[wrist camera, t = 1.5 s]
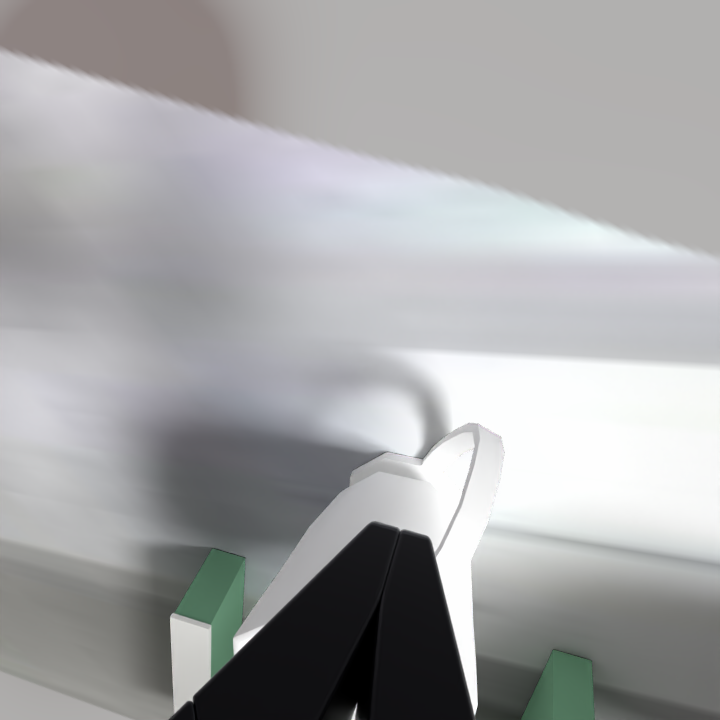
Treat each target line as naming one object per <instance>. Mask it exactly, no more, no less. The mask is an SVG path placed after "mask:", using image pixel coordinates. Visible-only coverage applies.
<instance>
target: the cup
mask: <svg viewBox="0 0 720 720" xmlns="http://www.w3.org/2000/svg"><path fill="white" fill-rule="evenodd" d="M473 449H474V451H473V455H472V460H471V464H470V468H469V472H468V476H467V479H466V482H465V485H464V488H463V492H461V491H460V490H459V489H458V488H457V487H456V486H455V484H454V483H453V482H452V481H451V480H450V479H449V478H448V477H447V475H446V474H445V473H444V471H445V470H446V468H447V467H448V466H449V465H450V464H451V463H452V462H453V461H455V460H456V459H457V458H459V457H460V456H461V455H463V454H464V453H466V452H468V451H471V450H473ZM504 453H505V452H504V448H503V443H502V438H501V436H499V435H497V434H495V433H493V432H492V431H490V430H488V429H486V428H485V427H483V426H481V425H479V424H475V423H468V424H466V425H464V426H462V427H460V428H458V429H456V430H454V431H453V432H451V433H449V434H447V435H446V436H445V437H444V438H443V439H441V440H440V441H439V442H438V443H437V444H436V445H435V446H433V447H432V449H431V450H430V451H429V453H428V454H427V455H426V456H425V458H424V459H419V458H414V457H409V456H404V455H400V454H395V453H390V452H386V453H384V454H382V455H381V456H379V457H377V458H375V459H373V460H371V461H370V462H368V463H366V464H364V465H362V466H360V467H358V468H357V469H355V470H353V471H352V474H351V476H350V486H349V487H348V488H346V489H344V490H343V491H341V492H340V493H339V494H338V495H337V497H336V498H335V499H334V500H333V501H332V502H331V503H330V504H329V505H328V506H327V508H326V509H325V510H324V511H323V512H322V513H321V514H320V515H319V516H318V517H317V519H316V520H315V521H314V522H313V523H312V524H311V525H310V526H309V528H308V529H307V531H306V532H305V534H304V535H303V537H302V538H301V540H300V541H299V543H298V544H297V546H296V547H295V549H294V550H293V552H292V553H291V555H290V556H289V558H288V559H287V561H286V562H285V564H284V565H283V567H282V568H281V570H280V571H279V573H278V574H277V575H276V577H275V578H274V580H273V581H272V582H271V584H270V585H269V587H268V588H267V589H266V591H265V592H264V594H263V595H262V596H261V598H260V599H259V601H258V602H257V603H256V605H255V606H254V608H253V609H252V611H251V612H250V614H249V615H248V617H247V618H246V619H245V621H244V622H243V624H242V625H241V627H240V628H239V630H238V631H237V633H236V634H235V636H234V637H233V649H234V655H235V654H236V653H237V652H238V651H239V650H240V649H241V648H242V647H243V646H244V645H245V644H246V643H247V642H248V641H249V640H250V639H251V638H252V637H253V636H254V635H255V634H256V633H257V632H258V631H259V630H261V629H262V628H263V627H264V626H265V625H266V624H267V623H268V622H269V621H270V620H271V619H272V618H273V617H274V616H275V615H276V614H277V613H278V612H279V611H280V610H281V609H282V608H283V607H284V606H285V605H286V604H287V603H288V602H289V601H290V600H291V599H292V598H293V597H294V596H295V595H296V594H297V593H298V592H299V591H300V590H301V589H302V588H303V587H304V586H305V585H306V584H307V583H308V582H309V581H310V580H311V579H312V578H313V577H314V576H315V575H316V574H317V573H318V572H320V571H321V570H322V569H323V568H324V567H325V566H326V565H327V564H328V563H329V562H330V561H331V560H332V559H333V558H334V557H335V556H336V555H337V554H338V553H339V552H340V551H341V550H342V549H343V548H344V547H345V546H346V545H347V544H348V543H349V542H350V541H351V540H352V539H353V538H354V537H355V536H356V535H357V534H358V533H359V532H360V531H361V530H362V529H363V528H364V527H365V526H366V525H367V524H369V523H370V522H372V521H377V522H381V523H384V524H388V525H391V526H395V527H398V528H399V529H400V531H401V530H403V529H406V530H409V531H413V532H416V533H420V534H423V535H427V536H428V537H429V538H430V539H431V541H432V544H433V548H434V552H435V556H436V560H437V564H438V569H439V573H440V577H441V581H442V585H443V589H444V593H445V597H446V601H447V605H448V609H449V613H450V617H451V621H452V625H453V629H454V633H455V637H456V641H457V645H458V650H459V654H460V658H461V662H462V666H463V670H464V674H465V678H466V682H467V686H468V690H469V694H470V698H471V702H472V706H473V710H474V714H475V713H476V710H477V706H478V697H477V674H476V655H475V641H474V626H473V602H472V576H471V559H472V557H473V555H474V552H475V550H476V548H477V546H478V543H479V541H480V539H481V537H482V535H483V532H484V530H485V528H486V526H487V523H488V521H489V518H490V515H491V511H492V507H493V504H494V500H495V496H496V493H497V489H498V485H499V482H500V477H501V471H502V465H503V459H504ZM356 708H357V705H356ZM356 708H355V711H354V714H353V716H352V719H351V720H355V714H356Z"/></svg>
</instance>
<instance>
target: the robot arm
mask: <svg viewBox="0 0 720 720" xmlns="http://www.w3.org/2000/svg"><path fill="white" fill-rule="evenodd" d="M356 705H357V708H356ZM355 708H356V714H355V720H476V718H475V714H474V710H473V706H472V702H471V698H470V694H469V690H468V686H467V682H466V678H465V674H464V670H463V666H462V662H461V658H460V654H459V650H458V645H457V641H456V637H455V633H454V629H453V625H452V621H451V617H450V613H449V609H448V605H447V601H446V597H445V593H444V589H443V585H442V581H441V577H440V573H439V569H438V564H437V560H436V556H435V552H434V548H433V544H432V541H431V539H430V538H429V537H428V536H427V535H423V534H420V533H416V532H413V531H409V530H406V529H403V530H401V531H400V529H399V528H398V527H395V526H391V525H388V524H384V523H381V522H377V521H372V522H370V523H369V524H367V525H366V526H365V527H364V528H363V529H362V530H361V531H360V532H359V533H358V534H357V535H356V536H355V537H354V538H353V539H352V540H351V541H350V542H349V543H348V544H347V545H346V546H345V547H344V548H343V549H342V550H341V551H340V552H339V553H338V554H337V555H336V556H335V557H334V558H333V559H332V560H331V561H330V562H329V563H328V564H327V565H326V566H325V567H324V568H323V569H322V570H321V571H320V572H318V573H317V574H316V575H315V576H314V577H313V578H312V579H311V580H310V581H309V582H308V583H307V584H306V585H305V586H304V587H303V588H302V589H301V590H300V591H299V592H298V593H297V594H296V595H295V596H294V597H293V598H292V599H291V600H290V601H289V602H288V603H287V604H286V605H285V606H284V607H283V608H282V609H281V610H280V611H279V612H278V613H277V614H276V615H275V616H274V617H273V618H272V619H271V620H270V621H269V622H268V623H267V624H266V625H265V626H264V627H263V628H262V629H261V630H259V631H258V632H257V633H256V634H255V635H254V636H253V637H252V638H251V639H250V640H249V641H248V642H247V643H246V644H245V645H244V646H243V647H242V648H241V649H240V650H239V651H238V652H237V653H236V654H235V655H234V656H233V657H232V658H231V659H230V660H229V661H228V662H227V663H226V664H225V665H224V666H223V667H222V668H221V669H220V670H219V671H218V672H217V673H216V674H215V675H214V676H213V677H212V678H211V679H210V680H209V681H208V682H207V683H206V684H205V685H204V686H203V687H202V688H200V689H199V690H198V691H197V692H196V693H195V694H194V696H193V702H192V701H187V702H186V703H185V704H184V705H183V706H182V707H181V708H180V709H179V710H178V711H177V712H176V713H175V714H174V715H173V716H172V717H171V718H170V719H169V720H351V719H352V716H353V714H354V711H355Z"/></svg>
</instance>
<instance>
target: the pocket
mask: <svg viewBox="0 0 720 720" xmlns="http://www.w3.org/2000/svg"><path fill="white" fill-rule="evenodd" d="M244 575H245V558H243V557H240V556H236V555H233V554H230V553H226V552H223V551H220V550H216V549H213V548H212V550H211V552H210V553H209V555H208V557H207V558H206V560H205V562H204V564H203V565H202V567H201V569H200V570H199V572H198V574H197V575H196V577H195V579H194V581H193V582H192V584H191V586H190V587H189V589H188V591H187V592H186V594H185V596H184V598H183V599H182V601H181V603H180V604H179V606H178V608H177V610H176V611H175V613H172V615H171V616H170V628H171V652H172V676H173V700H174V714H175V713H176V712H177V711H178V710H179V709H180V708H181V707H182V706H183V705H184V704H185V703H186V702H187V701H192V702H193V696H194V694H195V693H196V692H197V691H198V690H199V689H200V688H202V687H203V686H204V685H205V684H206V683H207V682H208V681H209V680H210V679H211V678H212V677H213V676H214V675H215V674H216V673H217V672H218V671H219V670H220V669H221V668H222V667H223V666H224V665H225V664H226V663H227V662H228V661H229V660H230V659H231V658H232V657H233V656H234V649H233V637H234V636H235V634H236V633H237V631H238V630H239V628H240V627H241V625H242V615H243V595H244ZM521 720H595V717H594V697H593V677H592V661H590V660H587V659H584V658H580V657H577V656H574V655H570V654H567V653H564V652H560V651H557V650H553V651H552V653H551V656H550V658H549V660H548V662H547V664H546V666H545V669H544V671H543V673H542V675H541V677H540V679H539V682H538V684H537V686H536V688H535V690H534V692H533V694H532V697H531V699H530V701H529V703H528V705H527V707H526V710H525V712H524V714H523V716H522V718H521Z"/></svg>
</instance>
